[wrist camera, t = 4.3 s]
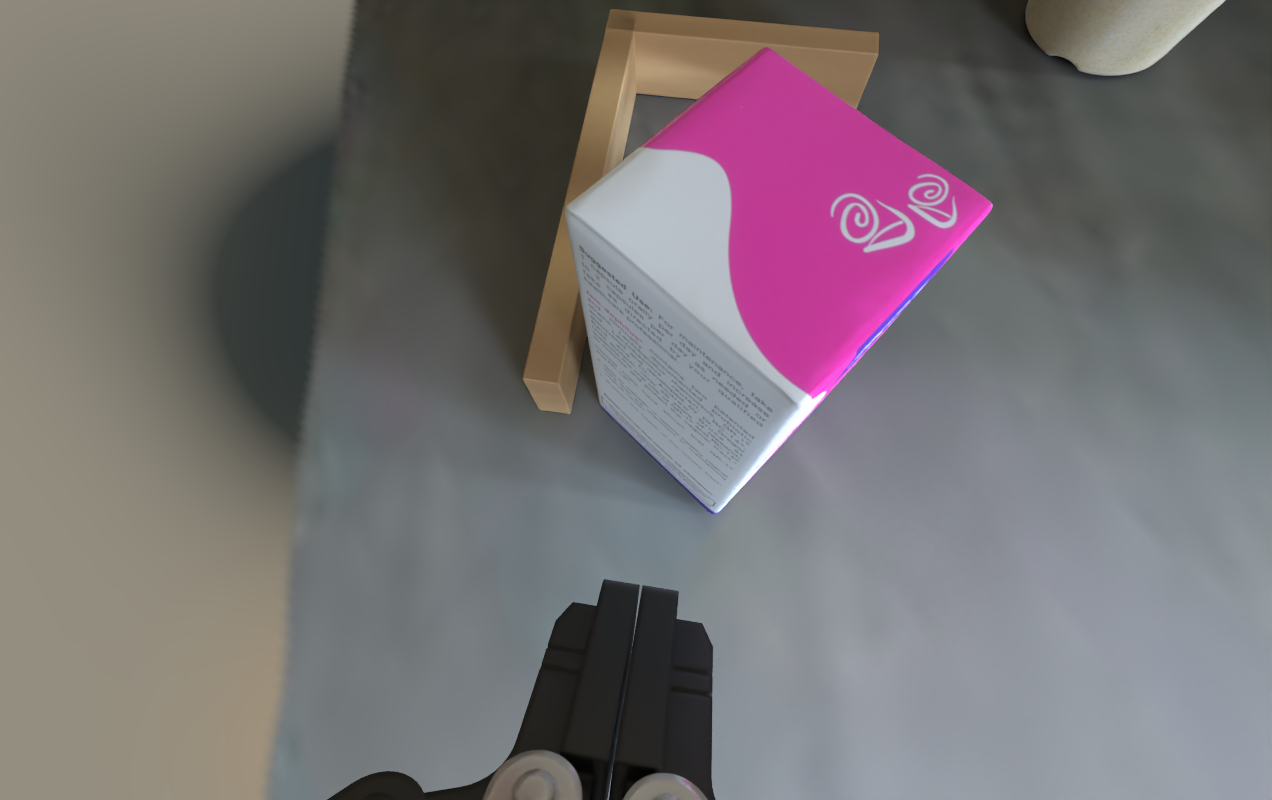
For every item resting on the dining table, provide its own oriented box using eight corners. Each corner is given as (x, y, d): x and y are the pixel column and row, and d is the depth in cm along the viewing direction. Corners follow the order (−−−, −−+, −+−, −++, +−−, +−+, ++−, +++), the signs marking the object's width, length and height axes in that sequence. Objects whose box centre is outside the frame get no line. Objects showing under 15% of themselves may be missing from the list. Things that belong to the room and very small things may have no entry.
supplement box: (717, 523, 20) (796, 416, 9) (596, 407, 21) (541, 197, 11) (827, 407, 21) (1009, 194, 10) (705, 305, 23) (754, 27, 12)
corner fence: (614, 71, 27) (610, 8, 24) (855, 94, 26) (879, 31, 23) (538, 410, 21) (521, 379, 19) (840, 452, 21) (870, 427, 18)
